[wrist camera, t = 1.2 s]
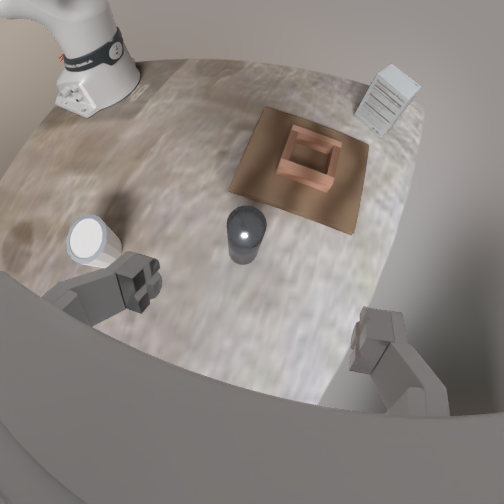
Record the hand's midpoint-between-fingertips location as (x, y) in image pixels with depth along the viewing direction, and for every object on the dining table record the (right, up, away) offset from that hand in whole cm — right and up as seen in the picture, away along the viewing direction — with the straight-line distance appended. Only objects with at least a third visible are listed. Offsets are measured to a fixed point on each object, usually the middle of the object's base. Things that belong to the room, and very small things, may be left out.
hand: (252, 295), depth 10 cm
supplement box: (+25, +29, +37) cm, 53 cm away
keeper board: (+9, +16, +33) cm, 38 cm away
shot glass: (-22, +2, +28) cm, 36 cm away
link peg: (-1, +2, +29) cm, 29 cm away
